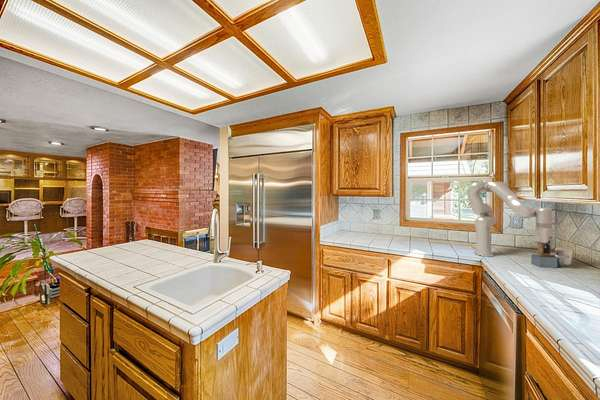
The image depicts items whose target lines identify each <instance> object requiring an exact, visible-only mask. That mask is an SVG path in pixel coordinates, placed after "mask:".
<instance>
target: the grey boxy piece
mask: <svg viewBox="0 0 600 400" xmlns="http://www.w3.org/2000/svg"><path fill="white" fill-rule="evenodd" d="M530 257H531V259H530V260H531V265H533V266H535V267H538V268H546V269H548V268H549V269H558V268H564V264H563V258H570V256H569V255H566V254H564V251H563V250H554V252H551V257H541V256H538V253H531V256H530Z"/></svg>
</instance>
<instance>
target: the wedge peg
mask: <svg viewBox="0 0 600 400" xmlns="http://www.w3.org/2000/svg"><path fill="white" fill-rule="evenodd" d="M547 243H548V242H547ZM546 245H547V244H546ZM543 247H544V243H542V242H538V243H537V254H538V256H541V257H551V253H552V249H551V248H552V246H551V247H550V253H543Z"/></svg>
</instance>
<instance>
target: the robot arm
mask: <svg viewBox="0 0 600 400" xmlns="http://www.w3.org/2000/svg"><path fill="white" fill-rule="evenodd" d="M480 193H493V194H494V195H496V196H497V197H498V198H500V199H501V200H502V201H503V202H504V203H505V205H506V206H507V207H508V208H509V209H510V210H511V211H512V212H513V213H514V214H516V215H517V216H518V217H520V218H523V219H530V218H535V228H534V232H533V233H534V236H533V239H534V241H535V242H537V244H538V242H542V243H544V247H543V253H550V247H551V248H552V246H554V243H555V242H554V241H555V240H554V238H555V237H554V230H553V209H552V208H551V207H534V206H526V205H524V203H522V202H521V201H520V200H519V198H518V195H517V193H516V192H514V191H513V190H511V189H510V188H509V186H508V184H507V183H506V182H504V181H475V182H472V183H471V184H469V186H468V187H467V188H466V195H467V198H468V200H469V204H470V207H471V210H472V212H473V214H475V215H476V216H477V215H478V217H477V218H475V221H474V228H475V251H473V255H475V254H477V255H476V256H479V255H481V257H486V258H487V257H489V258H490V257H494V255H495V254H494V253H492V232H491V227H493V226H494V225H495V224H496V218H495V215H494V212H493V209H492V207H491V205H489V204H488V203H486V202H484V200H483V197H482V196H481V194H480ZM547 242H548V243H547ZM546 244H547V245H546Z"/></svg>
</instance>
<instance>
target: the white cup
mask: <svg viewBox="0 0 600 400" xmlns="http://www.w3.org/2000/svg"><path fill="white" fill-rule="evenodd" d="M554 249H555V250H563V251H564V254H566V255H569V256H570V258H563V266H564V265H565V266H570V265H572V261H573V249H570V248H565V247H564V248H562V247H556V248H554ZM555 250H554V251H555Z"/></svg>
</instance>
